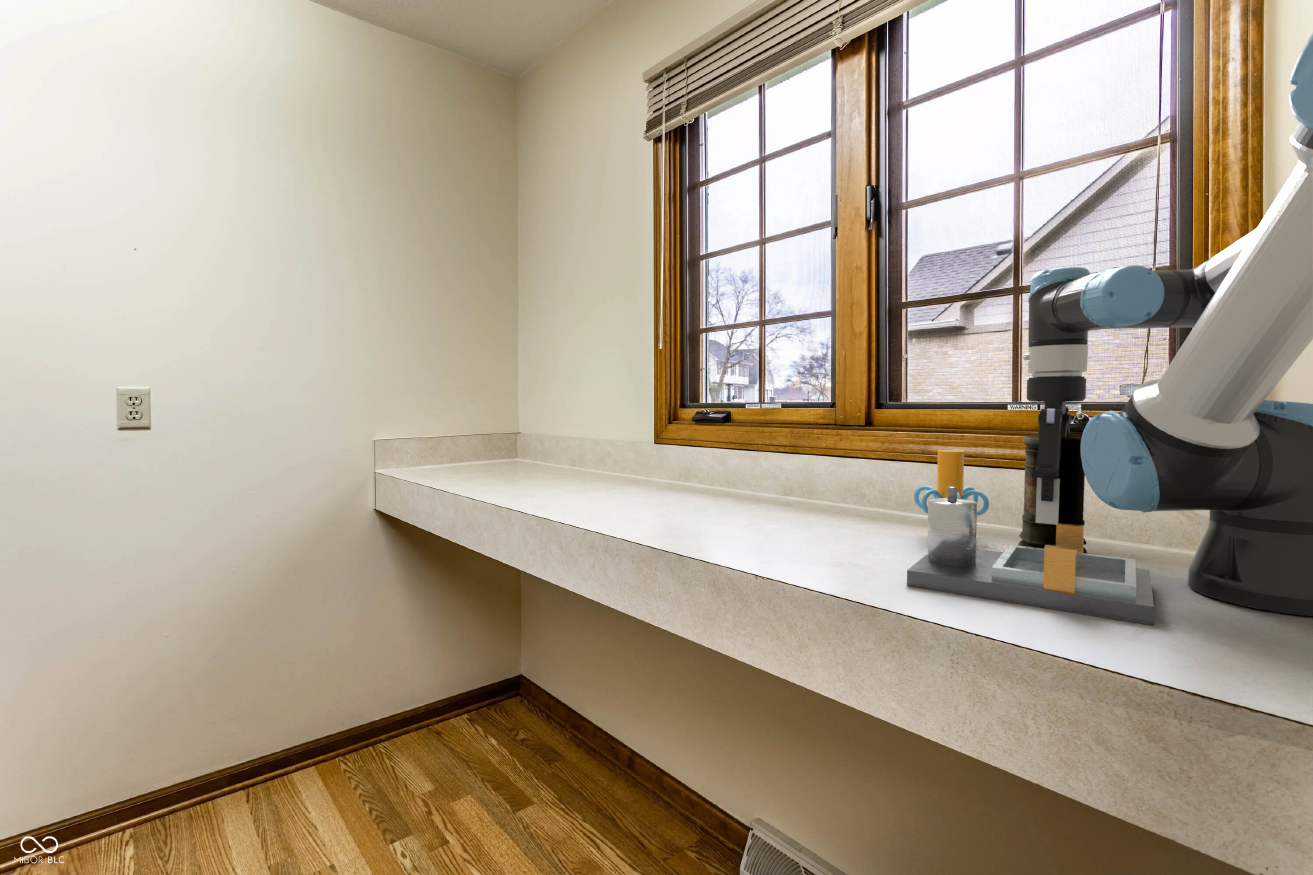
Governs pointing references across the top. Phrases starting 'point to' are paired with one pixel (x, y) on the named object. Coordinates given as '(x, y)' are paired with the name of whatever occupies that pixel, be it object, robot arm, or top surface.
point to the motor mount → (1029, 569)
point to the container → (1068, 493)
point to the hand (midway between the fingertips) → (1051, 515)
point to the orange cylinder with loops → (950, 481)
